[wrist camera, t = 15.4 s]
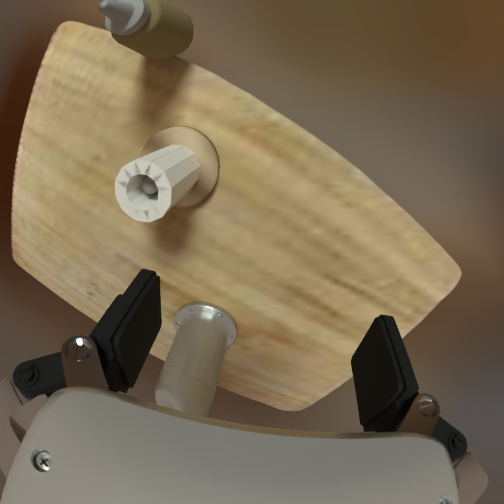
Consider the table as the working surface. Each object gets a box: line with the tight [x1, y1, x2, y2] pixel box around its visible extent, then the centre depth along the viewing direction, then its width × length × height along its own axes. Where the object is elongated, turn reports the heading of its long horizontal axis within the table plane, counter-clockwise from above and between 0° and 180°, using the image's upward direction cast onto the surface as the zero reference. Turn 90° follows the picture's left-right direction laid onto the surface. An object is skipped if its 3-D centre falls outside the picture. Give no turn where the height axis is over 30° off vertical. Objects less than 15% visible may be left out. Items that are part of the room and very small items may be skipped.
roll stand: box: [140, 126, 220, 207], centre depth 34 cm, size 12×12×10 cm
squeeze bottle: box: [98, 0, 193, 60], centre depth 21 cm, size 8×8×18 cm
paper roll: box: [115, 145, 200, 223], centre depth 33 cm, size 7×7×11 cm
